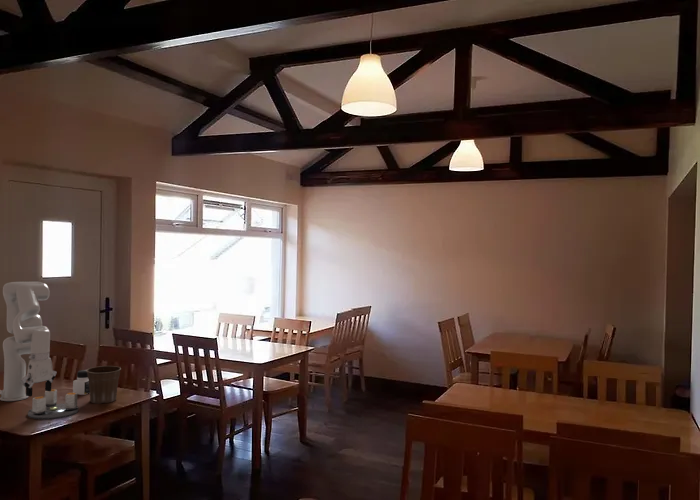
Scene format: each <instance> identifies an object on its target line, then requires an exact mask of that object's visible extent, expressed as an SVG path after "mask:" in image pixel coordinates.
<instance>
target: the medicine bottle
mask: <svg viewBox="0 0 700 500" xmlns="http://www.w3.org/2000/svg"><path fill="white" fill-rule="evenodd" d="M86 370H87V369H81V370H78V371H77V373H76V379H75V380H73V381H72V383H73V384H72V393H78V395H79V396H80V395H81V396H85V395H88V393H89V394H90V389H89V379H88V374H87V372H86Z"/></svg>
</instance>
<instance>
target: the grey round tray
mask: <svg viewBox="0 0 700 500" xmlns="http://www.w3.org/2000/svg"><path fill="white" fill-rule="evenodd" d="M79 409H80V408H79V406H78V405H77V409H75V410H66V408H65V403H56V405H55V406H50V407H47V406H46V411H45V413H44V414H40V415H34V414H33V411H32V408H31V409H29V410H28V411H27V417H28V418H29V417H30V419H32V418H33V420H41V421H42V420H57V419H63V418H67V417H70V416H71V417H72V416H74V415H76V414H77V413H78V412H79Z"/></svg>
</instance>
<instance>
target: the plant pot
mask: <svg viewBox="0 0 700 500" xmlns="http://www.w3.org/2000/svg"><path fill="white" fill-rule="evenodd" d="M85 370H86V372H87V374H88V379H89V389H90V393H89V401H90V403H92V404H95V405H96V404H99V405H101V404H104V403H105V404H107V403H113V402H116V401H117V393H118V385H119V378H120V374H121V370H122V368H121V366H116V365H115V366H114V365H102V366H101V365H100V366H99V365H98V366H95V367H90V368H87V369H85Z"/></svg>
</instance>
